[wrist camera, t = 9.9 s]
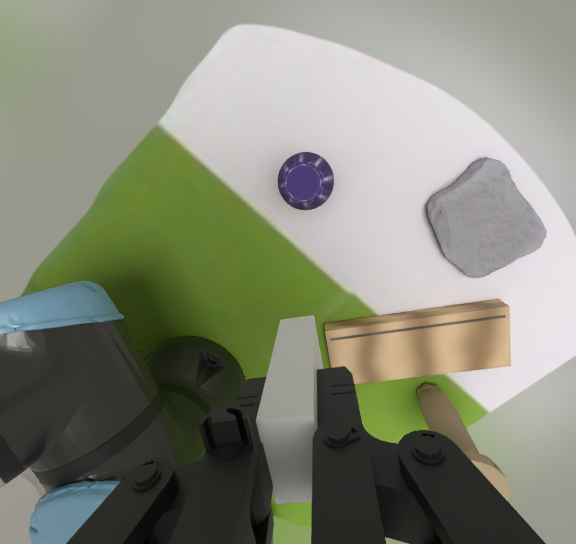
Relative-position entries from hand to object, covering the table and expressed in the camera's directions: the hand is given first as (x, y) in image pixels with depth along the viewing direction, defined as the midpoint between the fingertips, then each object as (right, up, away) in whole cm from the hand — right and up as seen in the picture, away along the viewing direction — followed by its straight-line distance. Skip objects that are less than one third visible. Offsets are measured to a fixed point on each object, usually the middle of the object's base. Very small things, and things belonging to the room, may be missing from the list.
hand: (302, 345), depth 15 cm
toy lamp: (+2, +14, +26) cm, 29 cm away
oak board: (+16, -6, +30) cm, 34 cm away
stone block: (+21, +9, +26) cm, 35 cm away
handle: (+19, -13, +32) cm, 39 cm away
